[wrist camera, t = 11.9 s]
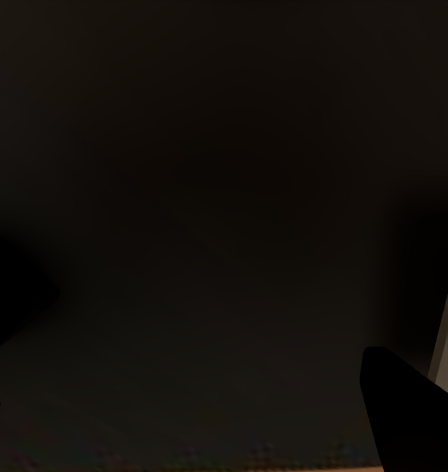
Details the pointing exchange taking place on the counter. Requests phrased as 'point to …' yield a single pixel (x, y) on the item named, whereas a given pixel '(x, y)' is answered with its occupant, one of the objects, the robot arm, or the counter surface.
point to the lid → (441, 354)
